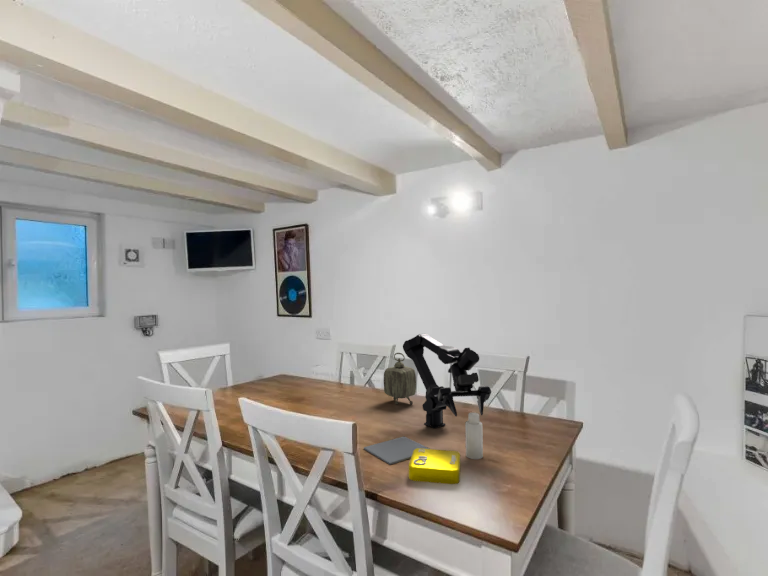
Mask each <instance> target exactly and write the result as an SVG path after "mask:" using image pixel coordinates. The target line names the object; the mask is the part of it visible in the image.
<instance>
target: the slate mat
mask: <svg viewBox="0 0 768 576" xmlns="http://www.w3.org/2000/svg"><path fill="white" fill-rule="evenodd" d="M416 448H422V449H431V448H429V447H427V446H425V445H423V444H421V443H420V442H417V441H415V440H413V439H410V438H409V437H406V436H401V437H396V438H392V439H389V440H385V441H382V442H379V443H378V442H377V443H375V444H370V445H367V446H364V447H363V450H365V451H366V452H368V453H369V454H371V455H373V456H375V457H376V458H377V459H379V460H381V461H383V462H384V463H387V464H388V465H389V466H390V465H393V464H394V465H395V464H397V463H400V462H404V461H406V460H410V459H411V456H412V453H413V451H414V450H415V449H416Z"/></svg>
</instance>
